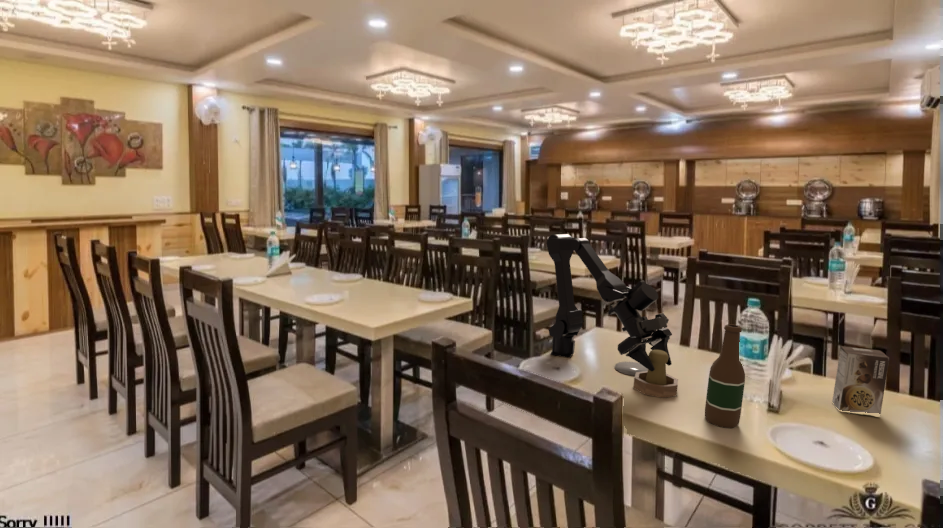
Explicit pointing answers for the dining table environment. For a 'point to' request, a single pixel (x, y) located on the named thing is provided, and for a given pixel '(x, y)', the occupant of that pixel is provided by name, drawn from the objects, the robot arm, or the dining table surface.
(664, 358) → the cork
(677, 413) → the dining table surface
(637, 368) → the slate coaster
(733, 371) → the beer bottle
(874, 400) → the coffee box
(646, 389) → the guard ring
